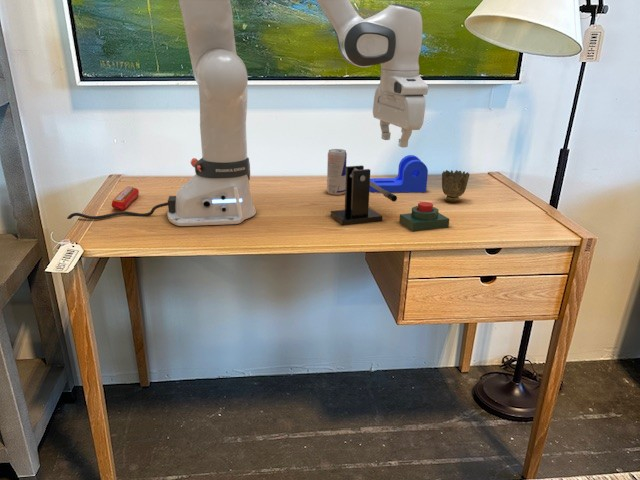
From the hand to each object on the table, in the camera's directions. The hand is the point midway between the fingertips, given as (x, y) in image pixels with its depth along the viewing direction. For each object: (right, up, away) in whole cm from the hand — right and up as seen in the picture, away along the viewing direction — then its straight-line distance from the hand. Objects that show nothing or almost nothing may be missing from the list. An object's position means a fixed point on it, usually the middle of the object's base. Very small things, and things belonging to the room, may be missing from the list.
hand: (394, 143), depth 144 cm
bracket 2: (+4, -4, +32) cm, 32 cm away
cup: (+19, -10, +20) cm, 30 cm away
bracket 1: (-9, -18, +6) cm, 21 cm away
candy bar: (-71, -12, +15) cm, 73 cm away
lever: (-5, -11, +3) cm, 12 cm away
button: (+8, -17, 0) cm, 18 cm away
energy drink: (-13, -7, +27) cm, 31 cm away
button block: (+8, -20, +2) cm, 21 cm away
